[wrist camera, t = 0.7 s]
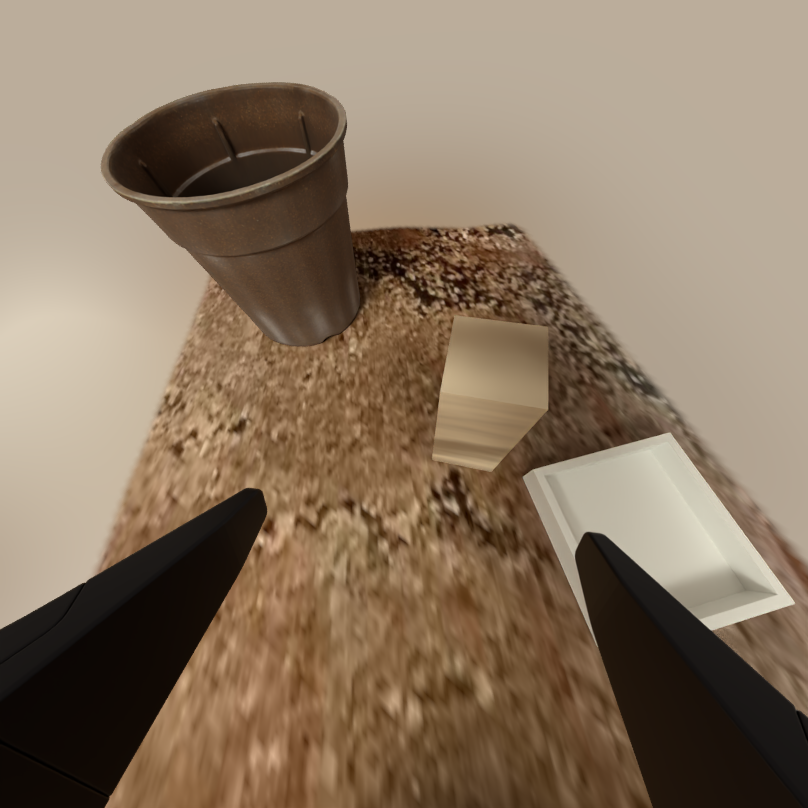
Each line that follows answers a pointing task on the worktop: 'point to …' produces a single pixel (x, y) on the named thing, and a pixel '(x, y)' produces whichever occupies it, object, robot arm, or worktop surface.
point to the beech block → (490, 390)
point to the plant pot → (252, 199)
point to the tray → (657, 528)
